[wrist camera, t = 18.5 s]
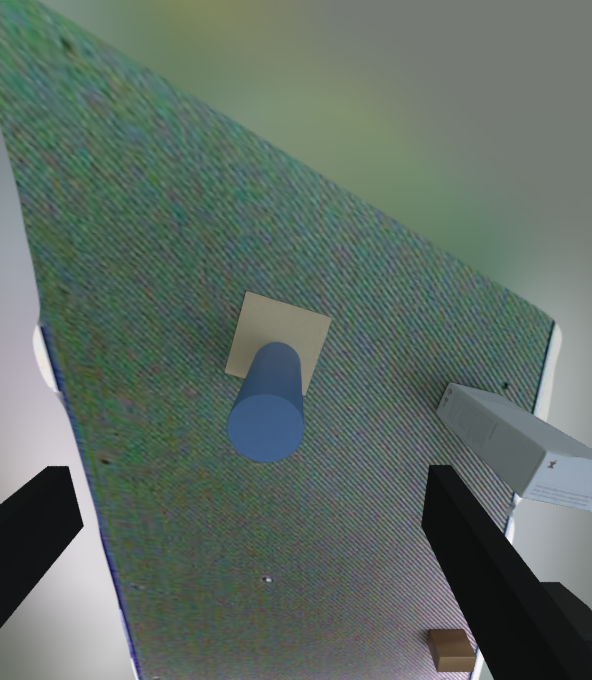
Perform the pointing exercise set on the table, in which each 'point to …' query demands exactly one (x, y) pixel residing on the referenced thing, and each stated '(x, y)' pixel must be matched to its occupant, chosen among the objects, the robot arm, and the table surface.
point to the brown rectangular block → (451, 651)
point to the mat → (277, 334)
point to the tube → (269, 406)
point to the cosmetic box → (520, 447)
